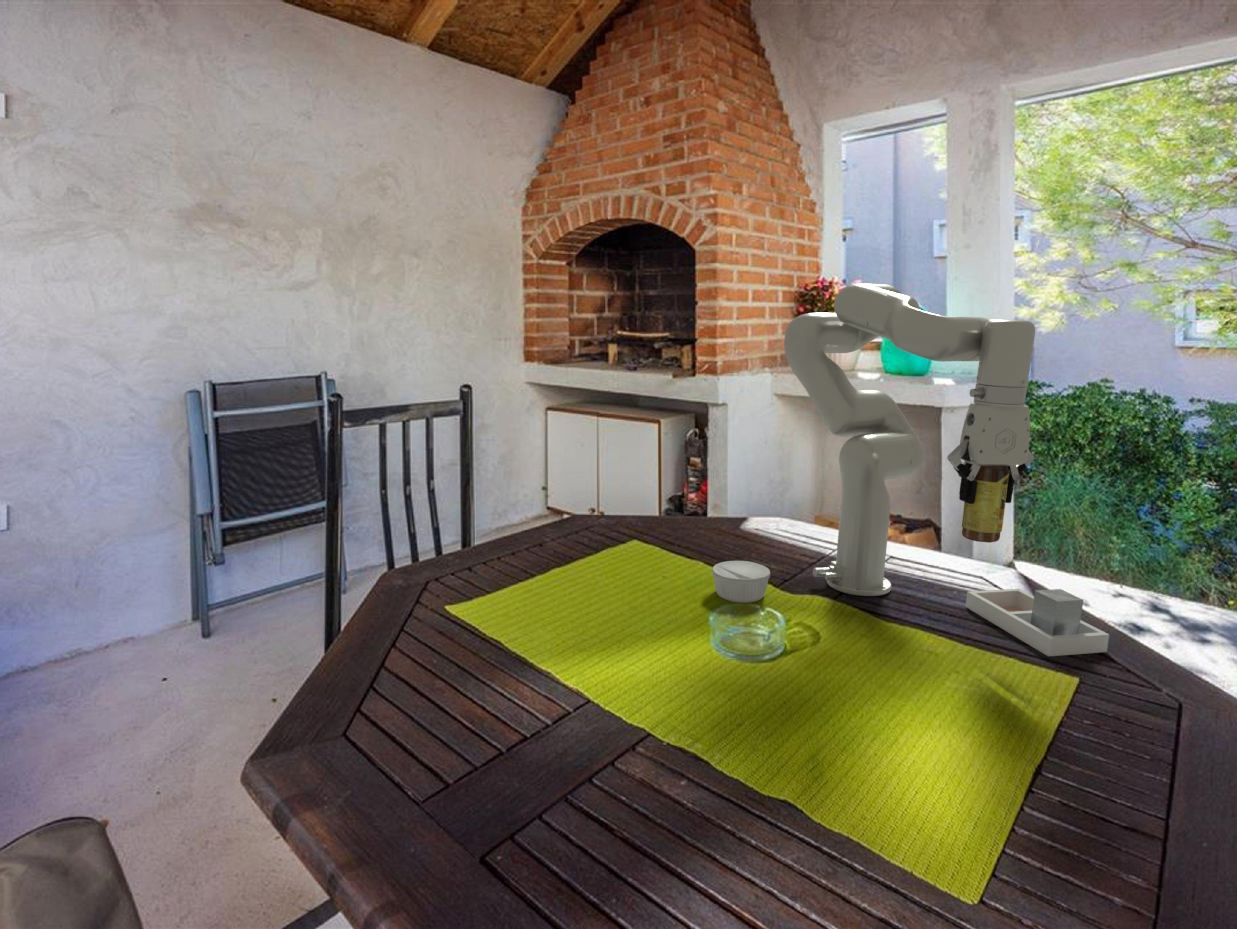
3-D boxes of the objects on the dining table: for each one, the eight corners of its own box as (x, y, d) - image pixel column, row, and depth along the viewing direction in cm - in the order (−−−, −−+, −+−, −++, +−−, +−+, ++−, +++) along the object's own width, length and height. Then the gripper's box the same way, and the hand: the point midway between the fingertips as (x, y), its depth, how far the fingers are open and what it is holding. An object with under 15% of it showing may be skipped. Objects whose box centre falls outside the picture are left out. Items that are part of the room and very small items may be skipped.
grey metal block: (1050, 646, 124) (1057, 601, 122) (1029, 634, 128) (1035, 590, 127) (1076, 644, 125) (1083, 599, 123) (1054, 632, 129) (1060, 589, 128)
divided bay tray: (1105, 657, 122) (1109, 634, 122) (1047, 661, 120) (1050, 638, 120) (1016, 608, 143) (1018, 588, 142) (964, 611, 141) (967, 591, 140)
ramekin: (704, 599, 144) (705, 573, 143) (719, 581, 154) (720, 557, 153) (762, 609, 140) (763, 582, 139) (773, 589, 150) (775, 564, 149)
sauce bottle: (1005, 545, 124) (1022, 428, 119) (965, 542, 125) (980, 425, 121) (993, 534, 130) (1009, 421, 126) (955, 531, 131) (970, 419, 127)
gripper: (967, 398, 117) (952, 508, 121) (1062, 399, 120) (1045, 506, 124) (938, 392, 124) (925, 496, 128) (1029, 393, 127) (1014, 494, 131)
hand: (984, 500), depth 126 cm, fingers closed on sauce bottle, 6 cm apart
